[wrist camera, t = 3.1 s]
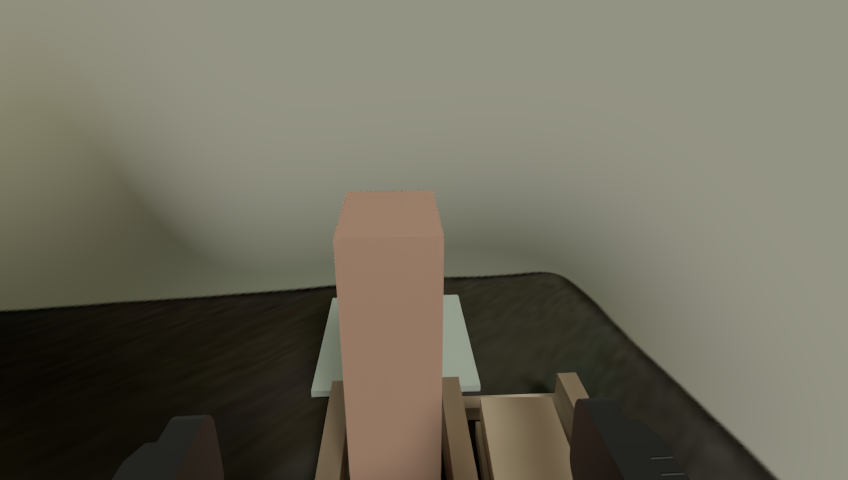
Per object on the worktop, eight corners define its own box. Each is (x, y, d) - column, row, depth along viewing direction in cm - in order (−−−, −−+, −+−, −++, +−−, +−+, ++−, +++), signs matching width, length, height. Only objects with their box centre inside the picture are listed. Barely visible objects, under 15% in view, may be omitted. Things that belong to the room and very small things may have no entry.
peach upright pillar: (356, 569, 25) (333, 238, 19) (363, 471, 30) (347, 191, 24) (439, 565, 25) (444, 235, 19) (431, 468, 31) (432, 190, 24)
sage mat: (311, 396, 37) (311, 391, 37) (333, 302, 50) (332, 298, 50) (480, 390, 37) (480, 385, 37) (457, 299, 50) (457, 294, 50)
